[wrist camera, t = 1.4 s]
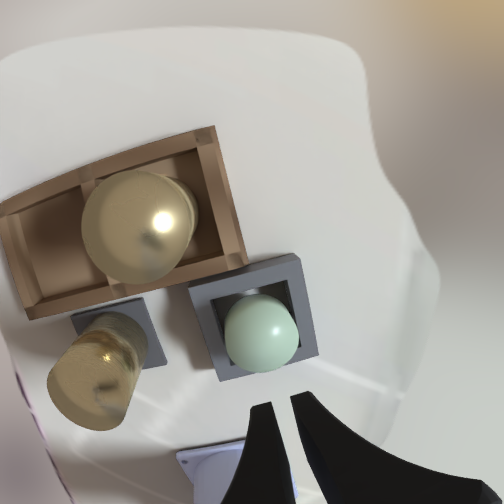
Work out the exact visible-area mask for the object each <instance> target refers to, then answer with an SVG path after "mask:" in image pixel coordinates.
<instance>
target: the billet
mask: <svg viewBox="0 0 504 504" xmlns="http://www.w3.org/2000/svg"><path fill="white" fill-rule="evenodd" d="M147 353H148V339H147V336H146V334H145V332H144V330H143V328H142V327H141V326H140V325H139V324H138V323H137V322H136V321H135V320H134V319H133V318H131V317H130V316H128V315H126V314H123V313H120V312H114V311H108V312H104V313H101V314H99V315H97V316H96V317H95V318H94V319H93V320H92V321H91V322H90V323H89V324H88V325H87V327H86V328H85V329H84V330H83V331H82V333H81V334H80V335H79V336H78V337H77V339H76V340H75V341H74V342H73V343H72V345H71V346H70V347H69V348H68V349H67V351H66V352H65V353H64V354H63V356H62V357H61V358H60V359H59V361H58V362H57V363H56V364H55V366H54V367H53V368H52V369H51V371H50V372H49V375H48V378H47V389H48V392H49V395H50V398H51V400H52V401H53V403H54V405H55V406H56V407H57V409H58V410H59V411H60V412H61V413H62V414H63V415H64V416H65V417H66V418H68V419H69V420H70V421H72V422H74V423H75V424H77V425H79V426H81V427H84V428H87V429H90V430H96V431H106V430H110V429H113V428H115V427H117V426H118V425H120V424H121V423H122V421H123V420H124V417H125V414H126V411H127V409H128V406H129V403H130V400H131V397H132V394H133V392H134V389H135V386H136V383H137V380H138V378H139V375H140V372H141V370H142V367H143V364H144V361H145V359H146V356H147Z"/></svg>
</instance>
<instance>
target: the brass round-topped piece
mask: <svg viewBox="0 0 504 504" xmlns="http://www.w3.org/2000/svg"><path fill="white" fill-rule="evenodd" d="M198 221H199V206H198V202H197V199H196V197H195V195H194V193H193V192H192V190H191V189H190V188H189V187H188V186H187V185H186V184H185V183H184V182H182V181H181V180H179V179H177V178H174V177H170V176H165V175H161V174H156V173H151V172H145V171H140V170H130V171H123V172H120V173H117V174H114V175H112V176H110V177H108V178H107V179H105V180H104V181H103V182H101V183H100V184H99V185H98V186H97V187H96V188H95V189H94V191H93V192H92V193H91V195H90V196H89V198H88V200H87V202H86V205H85V207H84V211H83V215H82V222H81V230H82V238H83V242H84V245H85V248H86V251H87V253H88V255H89V257H90V258H91V260H92V261H93V263H94V264H95V265H96V266H97V267H98V268H99V269H100V270H101V271H102V272H103V273H105V274H106V275H107V276H109V277H111V278H113V279H115V280H117V281H120V282H123V283H127V284H145V283H150V282H153V281H156V280H158V279H160V278H162V277H163V276H165V275H166V274H168V273H169V272H170V271H171V270H172V269H173V268H174V267H175V266H176V265H177V264H178V262H179V261H180V259H181V258H182V256H183V254H184V252H185V250H186V248H187V246H188V244H189V242H190V240H191V238H192V236H193V234H194V232H195V230H196V228H197V225H198Z"/></svg>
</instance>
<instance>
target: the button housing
mask: <svg viewBox="0 0 504 504" xmlns="http://www.w3.org/2000/svg"><path fill="white" fill-rule="evenodd" d="M280 281H284V284H285V288H286V293H287V297H288V302H289V306H290V311H291V315H292V319H293V321H294V323H295V324H296V327H297V329H298V333H299V342H298V347H297V349H296V352H295V353H294V355H293V357H292V358H291V359H290V360H289V361H288V362H287V363H286V364H284V365H288V364H291V363H295V362H298V361H301V360H305V359H308V358H311V357H314V356H318V355H319V353H318V347H317V342H316V336H315V331H314V325H313V320H312V315H311V310H310V304H309V299H308V294H307V289H306V284H305V279H304V274H303V270H302V265H301V260H300V258H299V257H298V256H297V255H295V254H294V253H292V254H288V255H284V256H281V257H277V258H273V259H269V260H266V261H262V262H258V263H254V264H250V265H247V266H245V267H241V268H237V269H233V270H229V271H226V272H222V273H218V274H214V275H210V276H206V277H202V278H199V279H195V280H191V281H190V283H189V286H188V290H189V293H190V296H191V300H192V303H193V306H194V309H195V312H196V315H197V318H198V321H199V324H200V327H201V330H202V333H203V336H204V339H205V342H206V345H207V348H208V351H209V353H210V356H211V359H212V362H213V365H214V368H215V370H216V373H217V376H218V379H219V381H220V382H221V381H225V380H230V379H234V378H238V377H242V376H246V375H250V374H254V373H256V372H250V371H247V370H244V369H242V368H240V367H239V366H237V365H236V364H235V363H234V362H233V361H232V360H231V359H230V357H229V355H228V353H227V350H226V343H225V338H224V335H223V332H222V329H221V326H220V322H219V319H218V316H217V313H216V309H215V306H214V303H213V299H215V298H219V297H223V296H227V295H231V294H235V293H239V292H243V291H246V290H250V289H254V288H258V287H261V286H265V285H269V284H273V283H276V282H280ZM284 365H283V366H284Z"/></svg>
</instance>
